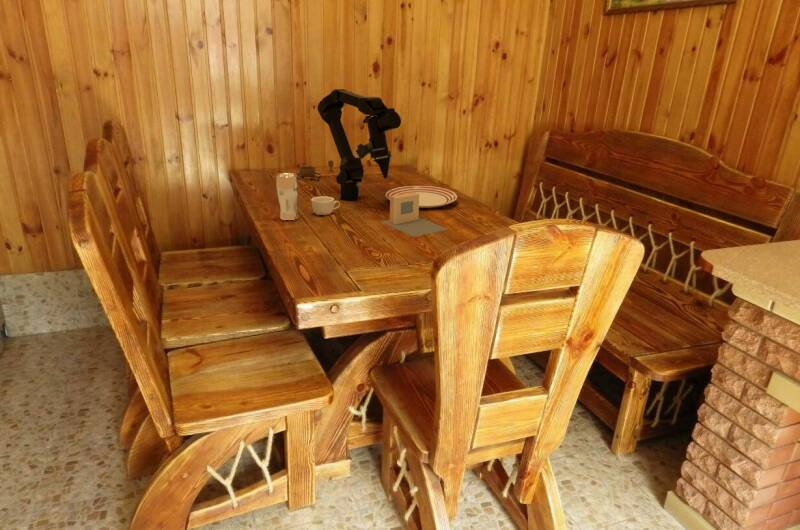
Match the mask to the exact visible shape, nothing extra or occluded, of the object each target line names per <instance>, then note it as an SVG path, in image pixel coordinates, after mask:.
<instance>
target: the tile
mask: <svg viewBox="0 0 800 530" xmlns="http://www.w3.org/2000/svg"><path fill="white" fill-rule="evenodd" d="M419 209H420V208H419V194H418V193H415V192H413V193H407V194H401V195H394V196H390V200H389V220H390V223H392V224H399V223H404V222H409V221H415V220H418V217H419V212H420V210H419Z"/></svg>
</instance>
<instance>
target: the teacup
mask: <svg viewBox="0 0 800 530" xmlns="http://www.w3.org/2000/svg"><path fill="white" fill-rule="evenodd" d="M310 201H311V207H312V211H313V212H314V214H315V215H316V216H319V215H324V216H328V215H331V214H332V213H333V211H334V210H336V209H338V208H340V206H341V203H340V201H339V200H335V198H334V197H331V196H324V195H323V196H315V197H312V198H311V200H310ZM337 203H338V206H336V207H335V204H337Z"/></svg>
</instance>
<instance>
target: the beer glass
mask: <svg viewBox="0 0 800 530" xmlns="http://www.w3.org/2000/svg"><path fill="white" fill-rule="evenodd" d="M297 177H298V176H297V175H296V173H293V172H282V173H277V174H276V180H275V181H276V182H275V184H276V193H277V198H278V203H279V207H280V214H279V220H280V219H282V220H294V221H296V220H295V219H297V218H298V219H299V215H298V211H297V210H298V209H297V204H298V203H297V202H298V196H299V194H298V193H299V187H298V179H297ZM298 219H297V220H298ZM282 220H281V221H282Z"/></svg>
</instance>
